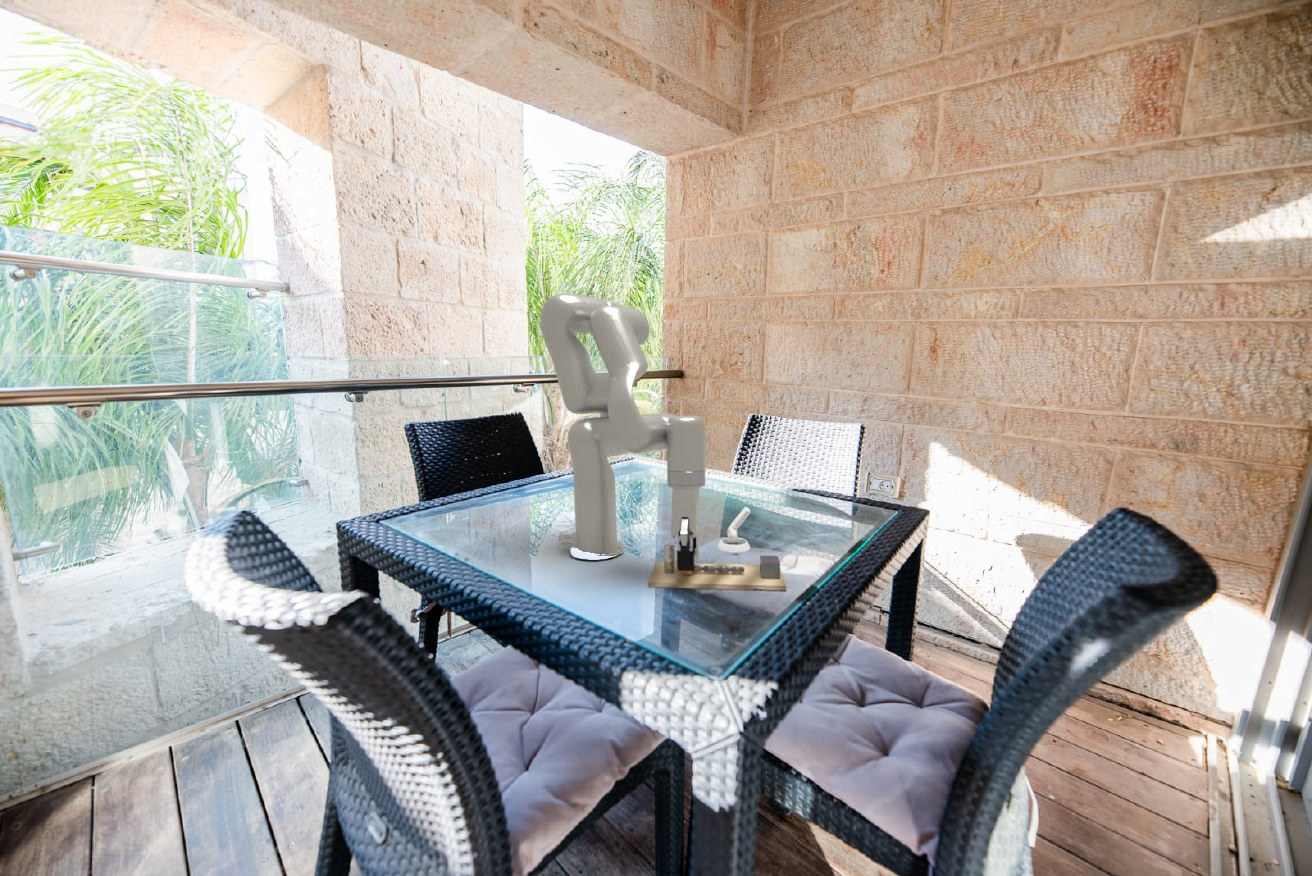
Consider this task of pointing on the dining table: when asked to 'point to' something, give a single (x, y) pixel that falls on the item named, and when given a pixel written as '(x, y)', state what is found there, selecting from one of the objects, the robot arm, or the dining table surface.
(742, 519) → the white ringed handle device
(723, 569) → the block with bead chain
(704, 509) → the dining table surface
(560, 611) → the dining table surface
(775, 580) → the board
